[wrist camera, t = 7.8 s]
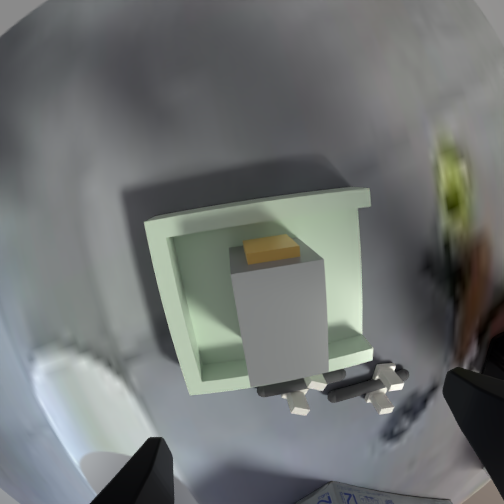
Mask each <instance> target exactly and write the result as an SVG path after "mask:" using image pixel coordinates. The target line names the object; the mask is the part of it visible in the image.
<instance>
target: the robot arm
mask: <svg viewBox="0 0 504 504" xmlns="http://www.w3.org/2000/svg"><path fill="white" fill-rule="evenodd" d="M443 396H444V398H445V400H446V402H447V404H448V405H449V407H450V409H451V411H452V413H453V415H454V417H455V419H456V421H457V423H458V425H459V427H460V429H461V430H462V432H463V434H464V435H465V437H466V438H467V440H468V441H469V443H470V444H471V446H472V448H473V449H474V451H475V452H476V454H477V456H478V457H479V459H480V460H481V462H482V464H483V465H484V467H485V469H486V470H487V472H488V474H489V475H490V477H491V479H492V480H493V482H494V484H495V486H496V487H497V489H498V491H499V492H500V494H501V496H502V498H503V500H504V332H503V333H501V334H499V335H497V336H495V337H494V338H493V339H492V341H491V343H490V347H489V351H488V355H487V359H486V362H485V366H484V369H483V373H482V374H480V373H476V372H473V371H470V370H466V369H463V368H460V367H456V368H454V369H452V370H450V371H448V372H447V374H446V378H445V382H444V386H443ZM90 504H174V481H173V457H172V454H171V451H170V450H169V448H168V446H167V444H166V442H165V440H164V439H163V438H162V437H150V438H148V439H147V440H146V441H145V443H144V444H143V445H142V446H141V447H140V448H139V450H138V451H137V452H136V453H135V454H134V455H133V456H132V457H131V459H130V460H129V461H128V462H127V463H126V464H125V465H124V467H123V468H122V469H121V470H120V471H119V472H118V473H117V474H116V475H115V477H114V478H113V479H112V480H111V481H110V482H109V483H108V484H107V485H106V487H105V488H104V489H103V490H102V491H101V492H100V493H99V494H98V495H97V496H96V497H95V498H94V500H93V501H92V502H91V503H90Z"/></svg>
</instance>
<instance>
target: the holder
mask: <svg viewBox="0 0 504 504" xmlns="http://www.w3.org/2000/svg"><path fill="white" fill-rule="evenodd" d="M364 207H371V198H370V188H360V187H345V188H336V189H327V190H319V191H311V192H303V193H295V194H287V195H280V196H273V197H266V198H259V199H252V200H246V201H239V202H233V203H226V204H220V205H214V206H208V207H202V208H196V209H191V210H185V211H179V212H174V213H169V214H163V215H158V216H154V217H152V218H150V219H148V220H147V221H145V222H144V225H145V230H146V235H147V240H148V245H149V249H150V254H151V258H152V263H153V267H154V272H155V276H156V280H157V284H158V288H159V292H160V296H161V300H162V304H163V308H164V312H165V315H166V319H167V323H168V326H169V330H170V333H171V337H172V340H173V344H174V347H175V350H176V354H177V357H178V360H179V363H180V367H181V370H182V373H183V376H184V379H185V382H186V385H187V388H188V391H189V394H190V395H198V394H208V393H216V392H224V391H232V390H239V389H245V388H252V387H251V386H250V381H249V376H248V370H247V365H246V360H245V354H244V349H243V343H242V338H241V332H240V326H239V321H238V315H237V309H236V303H235V298H234V292H233V286H232V280H231V273H230V258H229V248H231V247H238V246H243V240H250V239H256V238H263V237H269V236H276V235H283V234H287V235H288V236H289V237H290V238H296V237H298V238H299V239H300V240H301V241H303V242H304V243H305V244H306V245H307V246H309V247H310V248H311V249H312V250H313V251H315V252H316V253H317V254H318V255H319V256H321V257H322V258H323V259H324V266H325V281H326V299H327V320H328V352H329V372H331V371H335V370H339V369H343V368H347V367H350V366H354V365H358V364H361V363H365V362H368V361H372V360H373V347H372V346H371V345H370V344H369V342H368V341H367V340H366V339H365V338H364V336H363V335H362V270H361V248H360V231H359V218H358V208H364ZM295 380H296V379H295ZM290 381H291V380H290ZM285 382H286V381H285ZM274 384H275V383H274ZM268 385H269V384H268ZM263 386H264V385H263ZM256 387H258V386H256Z"/></svg>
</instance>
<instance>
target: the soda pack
mask: <svg viewBox="0 0 504 504" xmlns="http://www.w3.org/2000/svg"><path fill="white" fill-rule="evenodd" d="M295 504H453V503H452V502H451V500H441V499H430V498H421V497H412V496H405V495H399V494H392V493H386V492H381V491H376V490H371V489H366V488H361V487H356V486H352V485H348V484H344V483H340V482H335V481H331V482H328V483H327V484H325V485H324V486H322V487H321V488H319V489H318V490H316V491H314V492H313V493H311V494H310V495H308V496H306V497H305V498H303V499H302V500H300V501H298V502H296V503H295Z"/></svg>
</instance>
